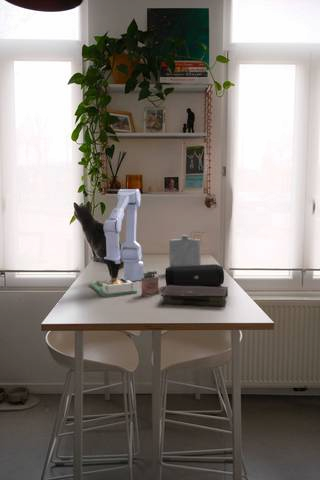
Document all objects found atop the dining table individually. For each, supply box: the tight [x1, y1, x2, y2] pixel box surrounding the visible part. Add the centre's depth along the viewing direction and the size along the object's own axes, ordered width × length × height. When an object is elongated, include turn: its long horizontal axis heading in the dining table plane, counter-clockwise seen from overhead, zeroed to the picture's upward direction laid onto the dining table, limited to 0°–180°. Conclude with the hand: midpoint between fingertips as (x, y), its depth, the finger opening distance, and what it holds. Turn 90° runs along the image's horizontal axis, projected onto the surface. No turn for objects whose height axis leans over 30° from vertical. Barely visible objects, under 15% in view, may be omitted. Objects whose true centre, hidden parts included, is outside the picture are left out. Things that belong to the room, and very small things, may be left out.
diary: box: [160, 285, 229, 308], centre depth 188 cm, size 19×25×5 cm
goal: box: [102, 280, 134, 294], centre depth 202 cm, size 12×6×4 cm, turn 112°
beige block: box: [105, 275, 123, 285], centre depth 206 cm, size 6×5×8 cm
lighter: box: [140, 270, 160, 297], centre depth 198 cm, size 8×3×10 cm, turn 117°
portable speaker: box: [164, 263, 225, 287], centre depth 211 cm, size 26×10×10 cm, turn 96°
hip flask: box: [168, 234, 202, 267], centre depth 240 cm, size 16×4×20 cm, turn 85°
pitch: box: [89, 279, 138, 298], centre depth 209 cm, size 15×23×2 cm, turn 22°
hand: (113, 277), depth 206 cm, fingers closed on beige block, 2 cm apart
